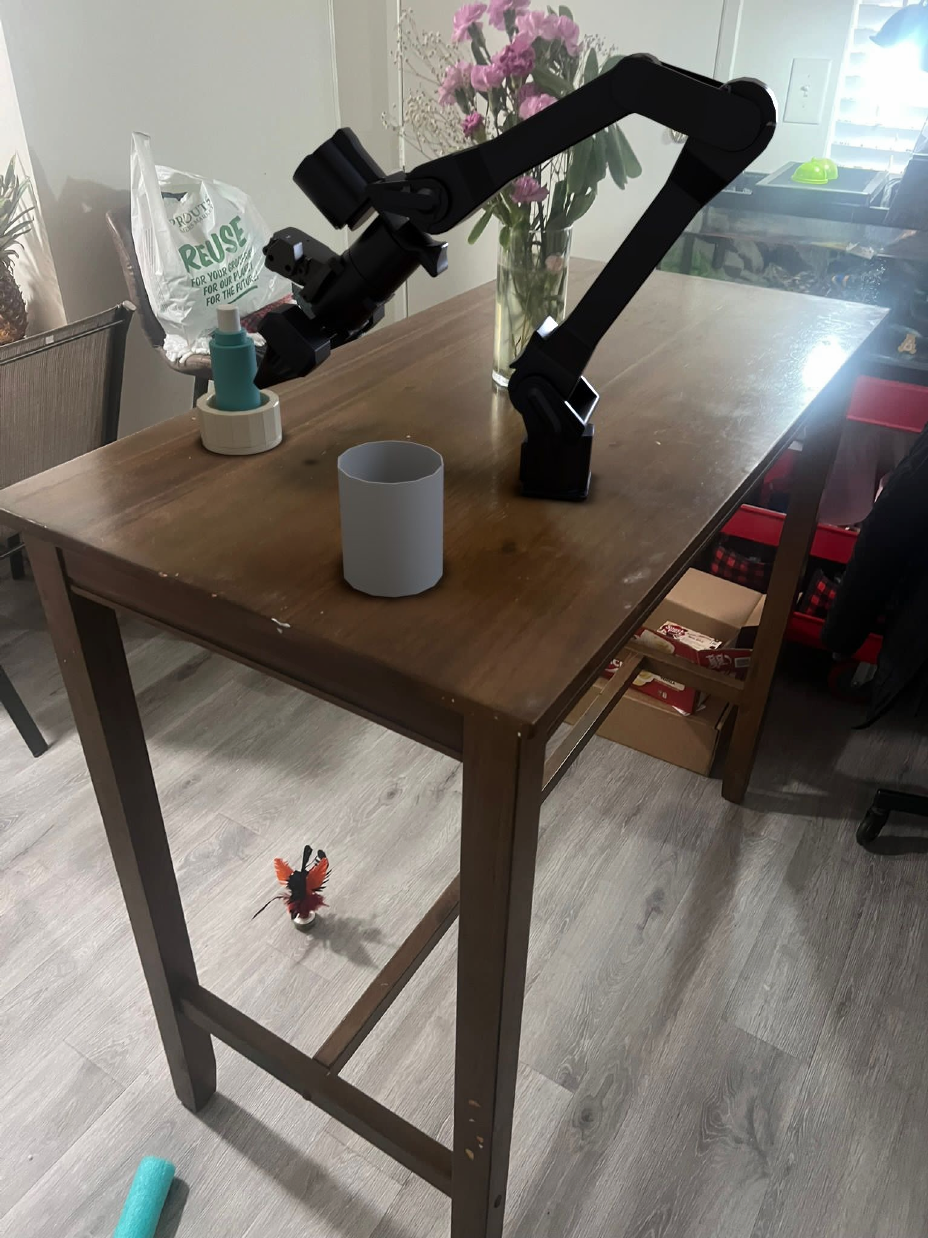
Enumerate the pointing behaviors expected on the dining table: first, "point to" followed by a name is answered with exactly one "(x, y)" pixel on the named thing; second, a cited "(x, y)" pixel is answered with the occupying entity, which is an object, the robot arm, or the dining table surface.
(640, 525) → the dining table surface
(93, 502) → the dining table surface
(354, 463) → the cup
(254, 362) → the bottle
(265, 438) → the holder
